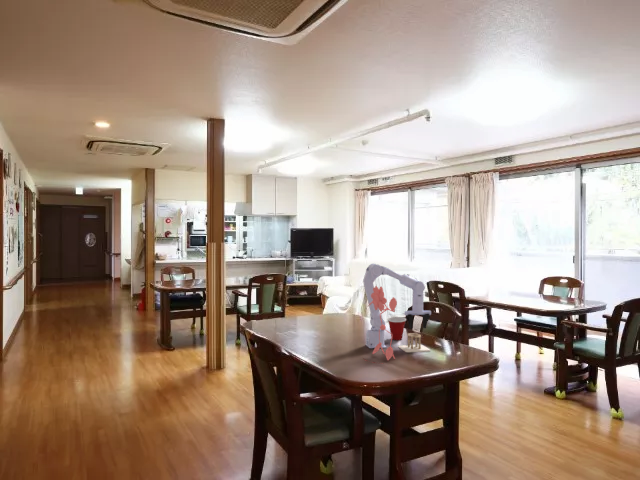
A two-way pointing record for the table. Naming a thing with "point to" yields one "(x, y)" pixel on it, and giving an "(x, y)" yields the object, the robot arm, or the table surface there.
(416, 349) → the board
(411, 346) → the stool
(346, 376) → the table surface
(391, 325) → the plastic cup
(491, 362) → the table surface
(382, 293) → the pink flower plant
